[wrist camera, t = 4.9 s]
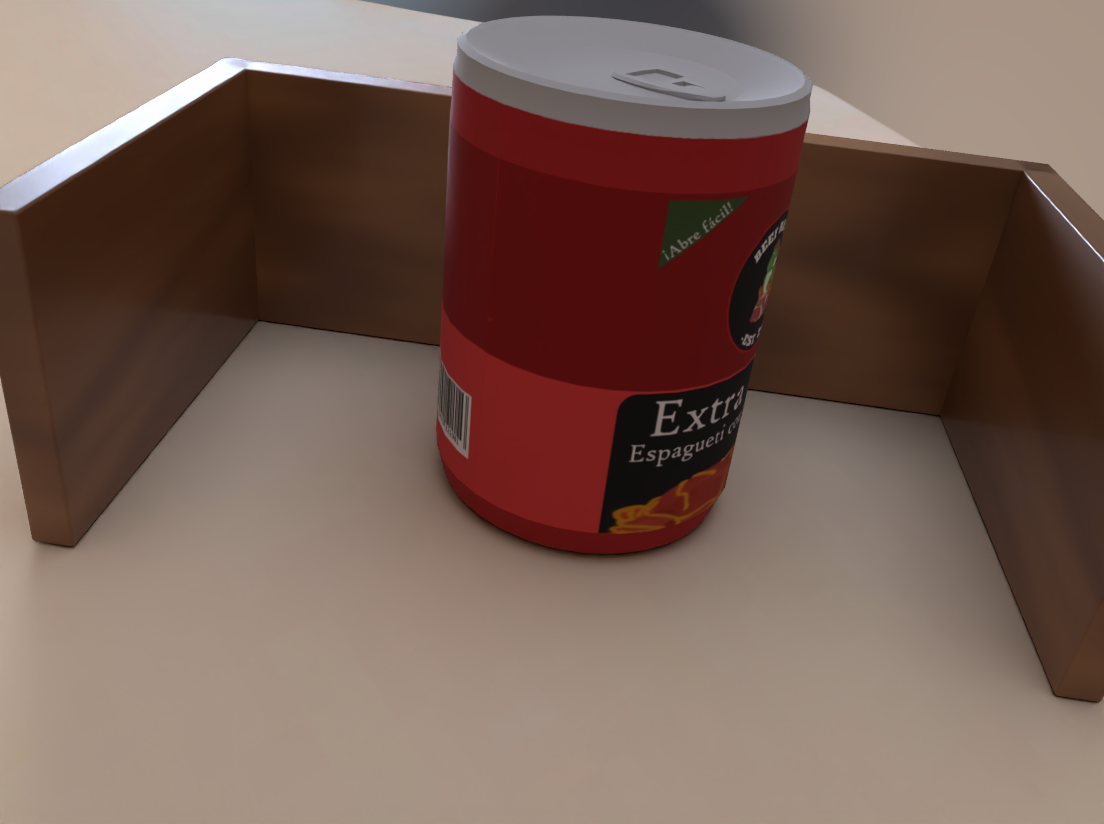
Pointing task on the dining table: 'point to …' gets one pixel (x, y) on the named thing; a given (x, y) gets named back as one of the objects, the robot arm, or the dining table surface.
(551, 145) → the canned food
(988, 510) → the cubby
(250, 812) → the dining table surface
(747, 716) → the dining table surface
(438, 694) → the dining table surface
